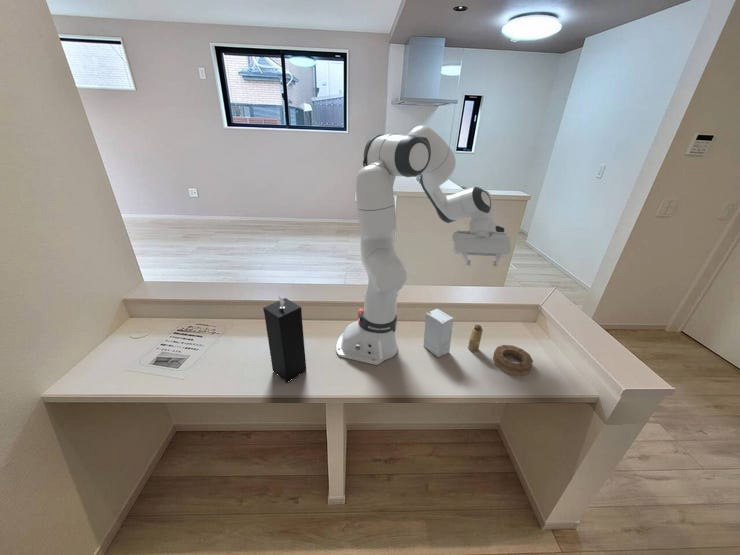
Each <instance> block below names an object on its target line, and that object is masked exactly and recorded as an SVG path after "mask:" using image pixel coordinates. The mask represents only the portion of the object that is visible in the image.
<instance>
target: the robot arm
mask: <svg viewBox="0 0 740 555" xmlns="http://www.w3.org/2000/svg"><path fill="white" fill-rule="evenodd" d="M363 150H364V151H363V160H362V165H363V167H362V168H361V169H359V170H358V172H357V174H356V182H355V183H356V184H355V186H356V187H355V196H356V197H355V199H356V207H357V208H356V209H357V215H358V222H359V231H360V258H361V263H362V265H363V268H364V269H365V271H366V275H367V280H368V282H367V290H366V291H365V293H364V295H363V296H364V297H363V298H364V299H363V305H364V306H363V308H361V307H360V308H359V309H358V312H357V314H358V316H357V320H356V321H353V322H351V323H349V324H348V325H347V326H346V328H345V330H344V332H342V333H341V334H340V336H339V337H338V339H337V341H336V346H335V351H336V354H338V355H337V356H338V357H340V358H344V359H348V360H353V361H357V362H362V363H367V364H371V365H375V366H379V365H380V364H382V362H384V361H387V360H389V359H392V358H393V357H394V356H395V355H396V354H397V353H398V350H399V346H398V344H397V339H396V338H397V337H396V329H397V324H398V316H397V305H398V304H397V301H398V296H399V293H400V290H401V289H403V288H404V286H406V283H407V280H408V279H407V278H408V275H407V270H406V267H405V265H404V262H403V261H402V260H401V259H400V257H399V256H398V255H397V253H396V251H395V247H394V239H395V233H396V232H397V227H398V226H397V215H396V201H395V193H394V183H395V180H396V178H397V177H405V178H413V177H417V176H420V178H419V180H420V186H421V188H422V189H423V192H424V194H425V195H426V197H427V198H428V199H429V201H430V203H431V204H432V205H433V207H434V208H435V211H436V213H437V217H439V219H440V220H441V221H443V222H444V223H447V224H451V223H453V222H456V221H459V220H461V219H465V218H469V221H468V230H457V231H454V232H453V233H452V240H453V241H454V242H453V247H452V253H453V255H458V256H459V255H462V258H463V260H464V261H465V266H467V267H469V266H471V265H472V264H471V259H469V258H468V256H480V257H481V256H483V257H494V258H495V260H493V261H492V265H491V266H492V268H498V265H499V264H498V262H499V261H500V259H501V257H503V258H507V257H509V255H511V253H512V244H511V239H510V237H509V236H508V228H507V227H504V226H502V225H501V226H500V225H498V224H495V223H494V219H493V216H494V205H493V198H492V195H491V192H489V191H488V190H486V189H483V188H481V187H479V186H474V187H470V188H466V189H464V190H462V191H459V192H456V193H453V194H448V195H445V194H444V193H443V191H442V189H441V188H440V187H441V186H442V185H443V184H444V183H446V182H448V180H449V179H450V178H451V176H452V175H453V173H454V171H455V168H456V162H457V160H456V159H457V158H456V156H455V154H454V151H453V150H452V148H451V147H450V145H448V143H447V142H446V140H444V139H443V137H442V136H441V135H439V133H437V131H435V130H434V129H433V128H432V127H430V126H428V125H425V124H422V125H417V126H415V127H413V129H411V130H410V131H409V132H408V134H400V133H389V134H378V135H375V136H373V137H371V138H370V139H368V141H367V143H366V145H365V148H364V149H363Z"/></svg>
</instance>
